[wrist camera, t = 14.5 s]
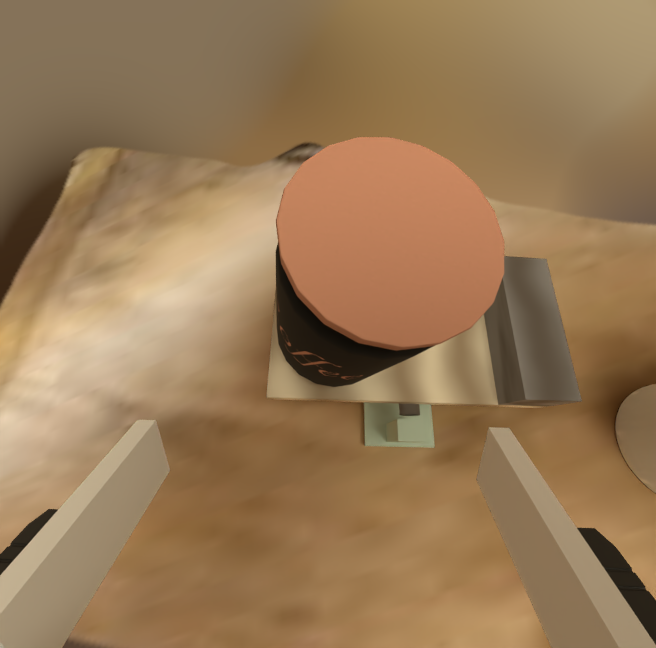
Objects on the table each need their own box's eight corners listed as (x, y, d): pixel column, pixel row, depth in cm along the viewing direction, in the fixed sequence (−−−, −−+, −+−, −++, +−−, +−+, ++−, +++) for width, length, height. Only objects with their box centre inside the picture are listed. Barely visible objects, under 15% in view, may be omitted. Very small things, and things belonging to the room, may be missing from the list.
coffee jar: (254, 317, 31) (226, 190, 14) (343, 264, 34) (411, 106, 17) (318, 411, 29) (376, 402, 12) (405, 347, 32) (551, 267, 15)
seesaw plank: (502, 283, 39) (544, 250, 33) (527, 419, 34) (584, 413, 27) (280, 270, 38) (276, 232, 31) (268, 411, 32) (260, 403, 25)
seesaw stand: (417, 282, 46) (436, 243, 37) (431, 447, 38) (459, 448, 29) (361, 282, 46) (366, 244, 37) (364, 445, 39) (371, 446, 30)
